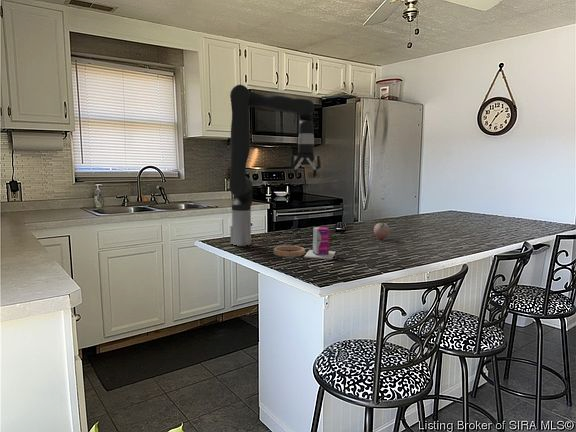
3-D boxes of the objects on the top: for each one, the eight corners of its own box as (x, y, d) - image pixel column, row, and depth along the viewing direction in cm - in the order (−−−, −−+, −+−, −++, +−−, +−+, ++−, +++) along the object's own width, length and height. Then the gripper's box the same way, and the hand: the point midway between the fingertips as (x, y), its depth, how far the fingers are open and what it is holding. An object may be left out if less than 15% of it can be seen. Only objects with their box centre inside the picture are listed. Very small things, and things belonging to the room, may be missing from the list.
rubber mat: (304, 257, 176) (304, 256, 176) (309, 251, 189) (309, 249, 188) (332, 259, 173) (332, 257, 173) (335, 252, 186) (335, 251, 186)
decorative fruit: (391, 241, 213) (392, 222, 212) (375, 241, 213) (376, 222, 212) (387, 238, 223) (388, 219, 221) (372, 237, 223) (372, 219, 221)
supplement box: (316, 255, 177) (316, 229, 176) (312, 252, 183) (312, 227, 182) (329, 255, 179) (329, 228, 177) (324, 252, 184) (325, 226, 183)
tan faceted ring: (270, 255, 179) (270, 251, 179) (278, 249, 192) (278, 245, 192) (301, 257, 176) (301, 252, 176) (306, 250, 189) (307, 246, 189)
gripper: (289, 143, 195) (289, 177, 197) (319, 143, 191) (318, 178, 194) (293, 143, 202) (292, 177, 204) (322, 143, 199) (321, 177, 201)
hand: (305, 177), depth 199 cm, fingers open, 8 cm apart
